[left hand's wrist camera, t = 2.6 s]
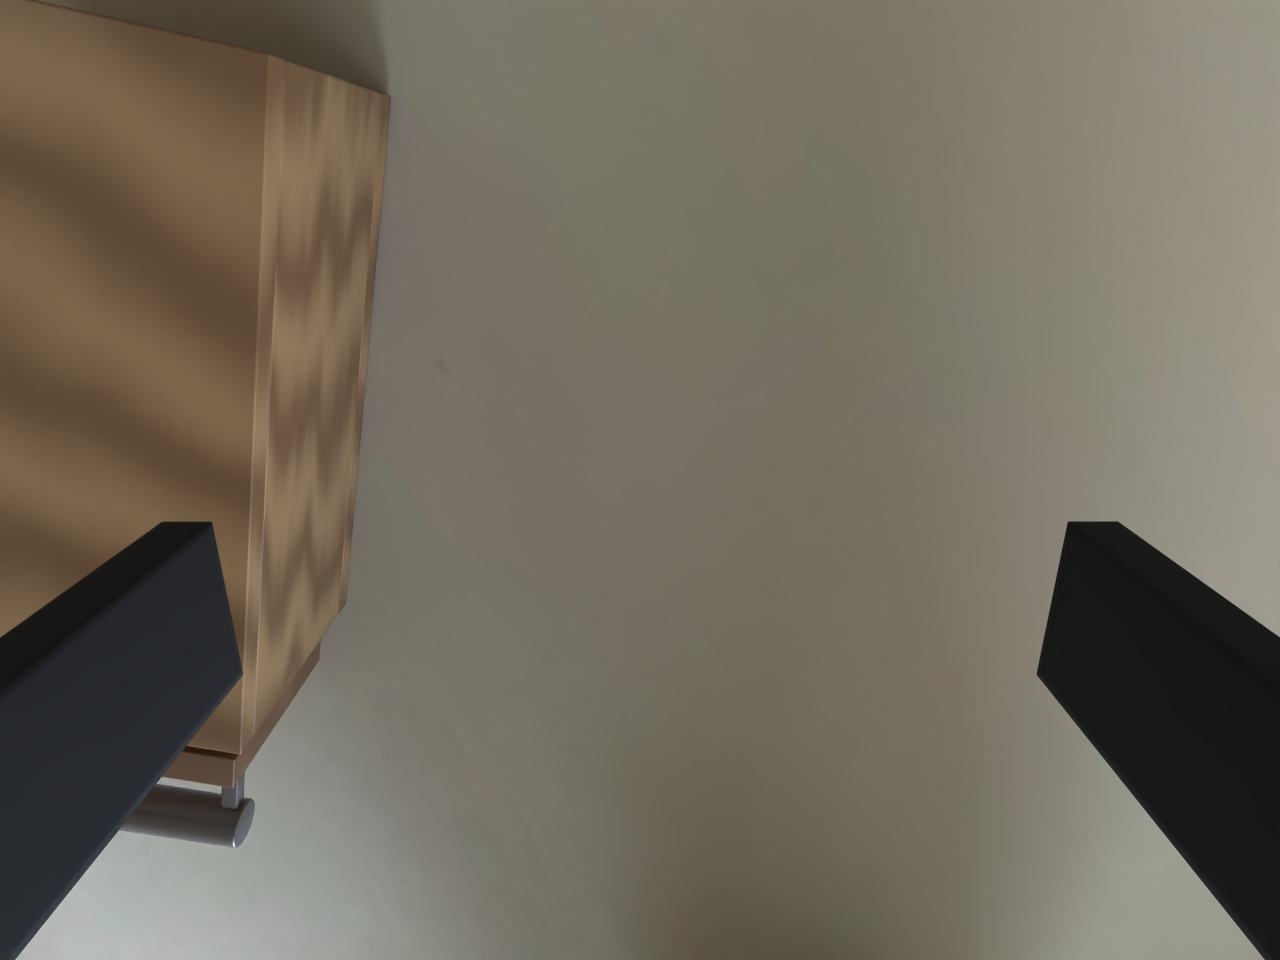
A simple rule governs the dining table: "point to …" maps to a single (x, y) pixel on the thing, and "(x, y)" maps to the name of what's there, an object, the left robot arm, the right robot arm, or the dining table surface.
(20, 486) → the cabinet
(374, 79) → the dining table surface
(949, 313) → the dining table surface
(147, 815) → the drawer
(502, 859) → the dining table surface
